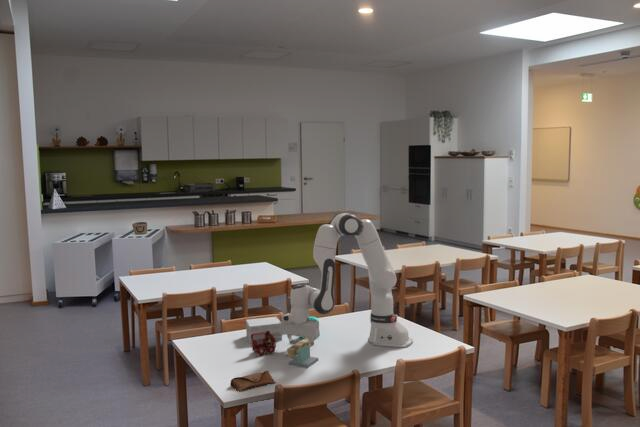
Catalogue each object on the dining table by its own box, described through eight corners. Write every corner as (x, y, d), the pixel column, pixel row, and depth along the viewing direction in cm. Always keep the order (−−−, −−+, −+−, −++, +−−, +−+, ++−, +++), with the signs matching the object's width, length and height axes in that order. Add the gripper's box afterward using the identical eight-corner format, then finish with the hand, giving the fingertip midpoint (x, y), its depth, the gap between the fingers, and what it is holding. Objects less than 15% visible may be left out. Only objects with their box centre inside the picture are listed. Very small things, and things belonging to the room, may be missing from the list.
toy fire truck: (278, 352, 279) (278, 331, 278) (254, 357, 273) (254, 335, 272) (272, 348, 285) (272, 327, 284) (249, 352, 279) (248, 332, 278)
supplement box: (277, 333, 310) (276, 316, 309) (282, 340, 297) (281, 322, 296) (246, 336, 305) (245, 319, 305) (249, 343, 293) (249, 326, 292)
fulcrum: (318, 360, 267) (318, 346, 266) (308, 367, 258) (307, 353, 257) (299, 357, 271) (299, 343, 271) (288, 364, 263) (288, 350, 262)
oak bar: (307, 344, 291) (307, 336, 290) (314, 345, 289) (313, 337, 289) (287, 356, 273) (287, 348, 273) (293, 358, 272) (293, 349, 271)
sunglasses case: (238, 392, 232) (234, 376, 234) (232, 396, 237) (229, 380, 240) (278, 382, 242) (273, 367, 244) (271, 386, 247) (267, 370, 249)
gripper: (321, 318, 278) (322, 345, 279) (285, 313, 287) (285, 340, 288) (315, 321, 272) (316, 349, 274) (278, 316, 281) (279, 343, 283)
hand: (300, 344), depth 281 cm, fingers open, 8 cm apart
